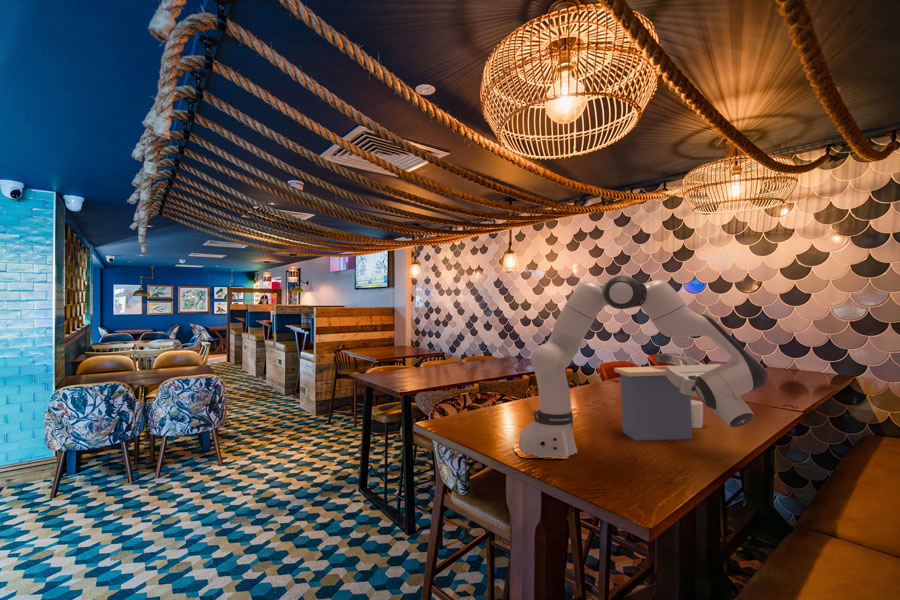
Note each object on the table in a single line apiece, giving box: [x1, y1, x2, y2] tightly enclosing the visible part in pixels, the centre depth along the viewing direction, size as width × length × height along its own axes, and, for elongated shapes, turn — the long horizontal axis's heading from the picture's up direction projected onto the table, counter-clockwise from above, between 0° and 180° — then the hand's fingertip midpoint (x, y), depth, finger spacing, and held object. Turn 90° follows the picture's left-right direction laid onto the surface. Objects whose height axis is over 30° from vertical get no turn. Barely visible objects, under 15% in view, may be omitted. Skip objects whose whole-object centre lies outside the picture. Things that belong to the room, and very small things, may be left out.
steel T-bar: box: [654, 353, 696, 366], centre depth 142 cm, size 8×16×3 cm, turn 0°
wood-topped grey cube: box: [613, 365, 694, 442], centre depth 148 cm, size 26×12×26 cm, turn 90°
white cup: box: [691, 399, 704, 429], centre depth 158 cm, size 8×8×10 cm
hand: (685, 360), depth 138 cm, fingers closed on steel T-bar, 3 cm apart
